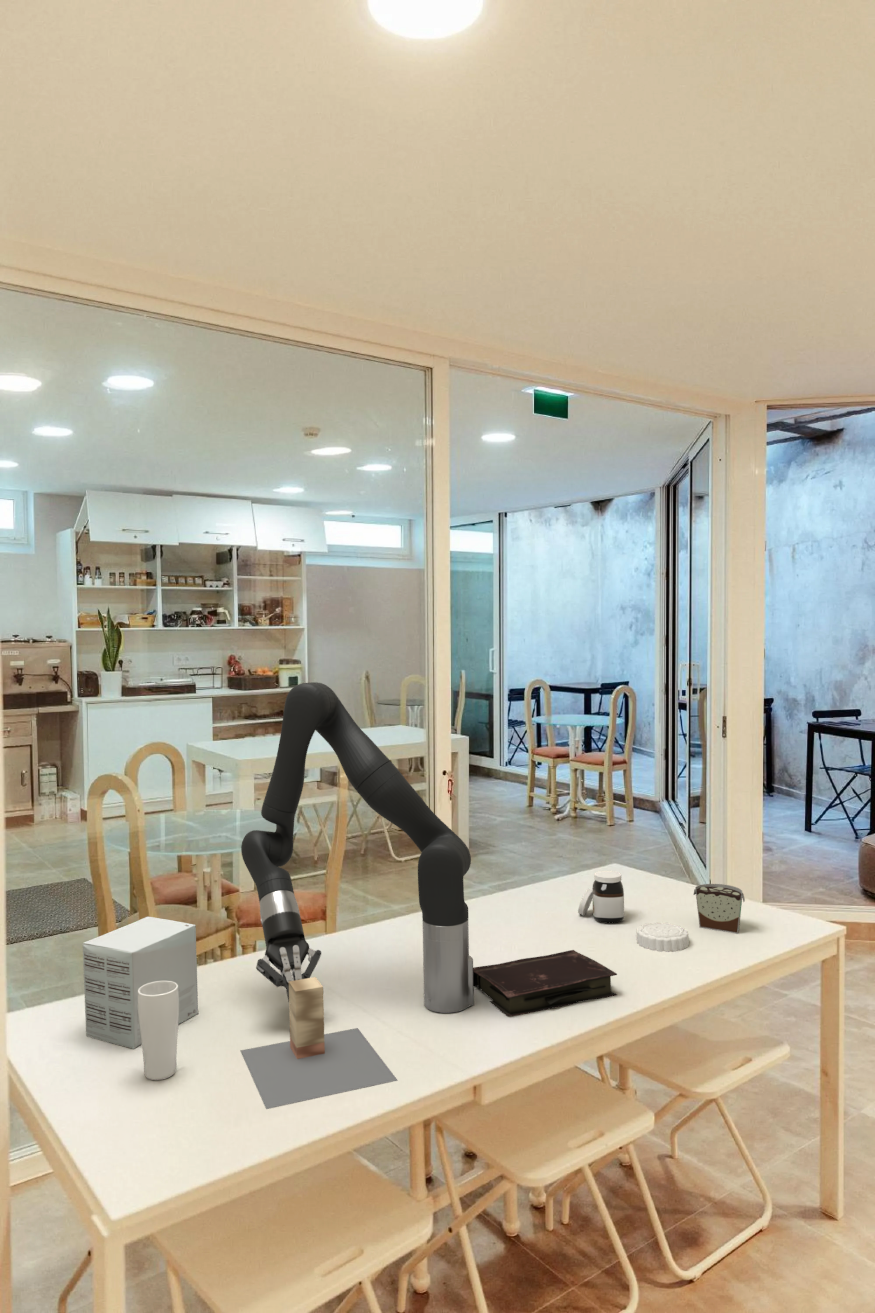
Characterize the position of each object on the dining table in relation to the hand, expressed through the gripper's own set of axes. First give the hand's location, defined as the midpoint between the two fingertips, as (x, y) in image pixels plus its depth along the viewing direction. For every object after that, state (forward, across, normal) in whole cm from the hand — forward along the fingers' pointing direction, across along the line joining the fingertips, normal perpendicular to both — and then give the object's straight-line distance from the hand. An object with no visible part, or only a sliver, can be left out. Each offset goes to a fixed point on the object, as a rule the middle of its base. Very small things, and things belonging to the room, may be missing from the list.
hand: (297, 1004), depth 172 cm
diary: (+5, +52, +5) cm, 52 cm away
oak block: (+9, 0, 0) cm, 9 cm away
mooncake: (-5, +91, +14) cm, 92 cm away
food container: (-7, +111, +16) cm, 112 cm away
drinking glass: (+7, -25, +2) cm, 26 cm away
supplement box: (-8, -26, +18) cm, 33 cm away
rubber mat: (+13, 0, -4) cm, 14 cm away
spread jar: (-20, +88, +30) cm, 95 cm away
